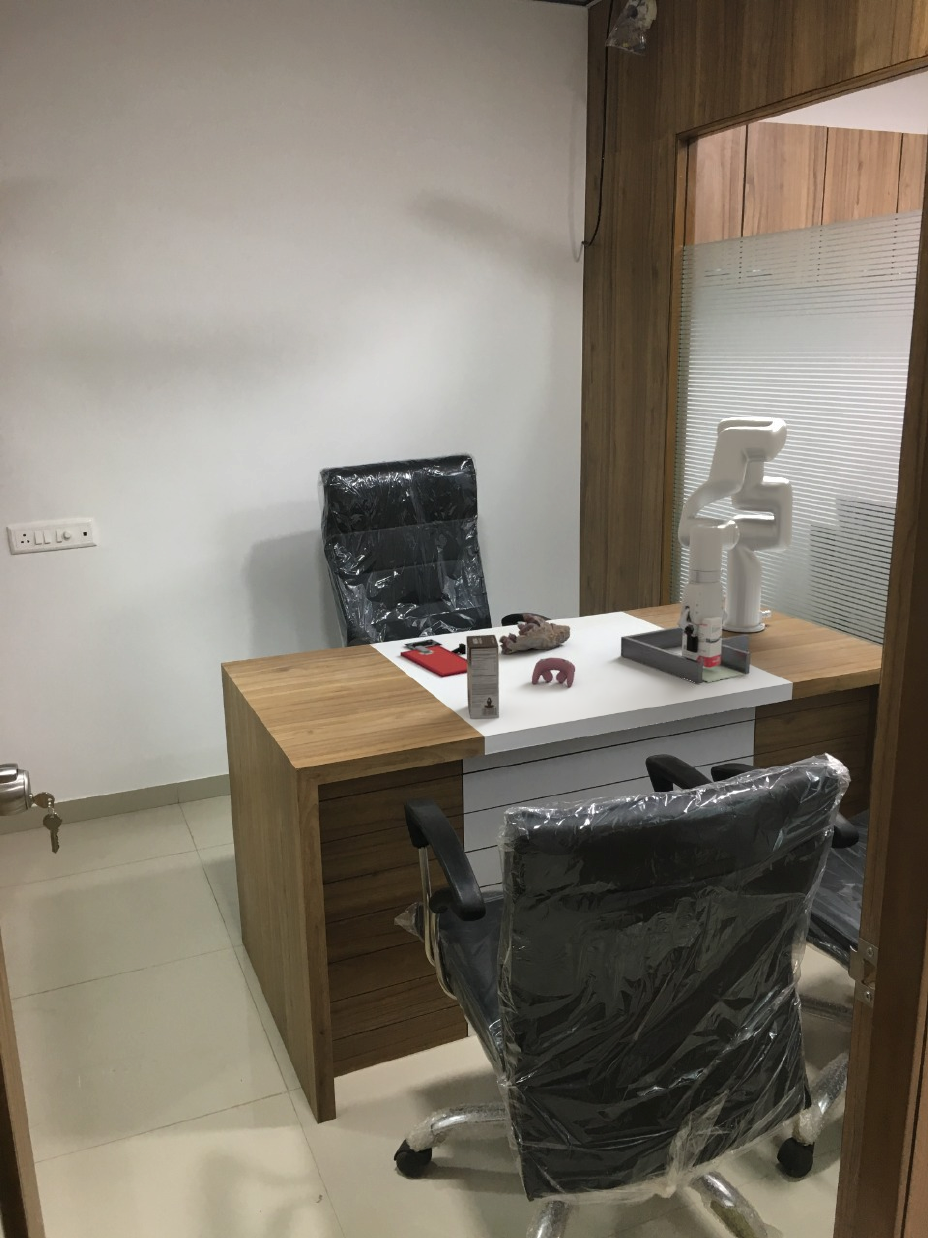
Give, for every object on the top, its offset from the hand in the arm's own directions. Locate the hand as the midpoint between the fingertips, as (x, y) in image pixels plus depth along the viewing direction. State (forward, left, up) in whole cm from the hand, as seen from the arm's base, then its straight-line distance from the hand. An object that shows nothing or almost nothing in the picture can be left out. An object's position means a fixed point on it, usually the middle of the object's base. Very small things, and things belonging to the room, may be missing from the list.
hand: (701, 648), depth 243 cm
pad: (0, +3, -5) cm, 6 cm away
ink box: (0, 0, -4) cm, 4 cm away
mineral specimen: (+23, -38, -6) cm, 44 cm away
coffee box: (+60, -3, -6) cm, 60 cm away
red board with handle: (+48, -44, -6) cm, 66 cm away
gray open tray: (-6, -6, -5) cm, 10 cm away
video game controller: (+36, -11, -6) cm, 38 cm away
